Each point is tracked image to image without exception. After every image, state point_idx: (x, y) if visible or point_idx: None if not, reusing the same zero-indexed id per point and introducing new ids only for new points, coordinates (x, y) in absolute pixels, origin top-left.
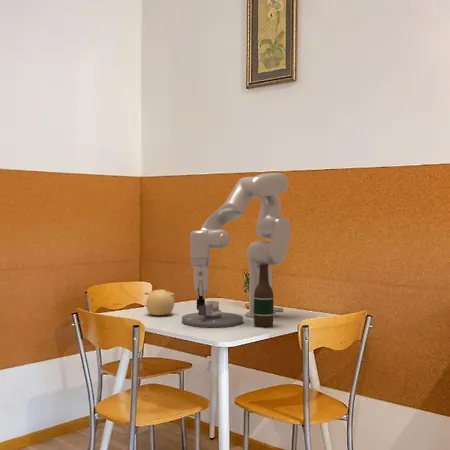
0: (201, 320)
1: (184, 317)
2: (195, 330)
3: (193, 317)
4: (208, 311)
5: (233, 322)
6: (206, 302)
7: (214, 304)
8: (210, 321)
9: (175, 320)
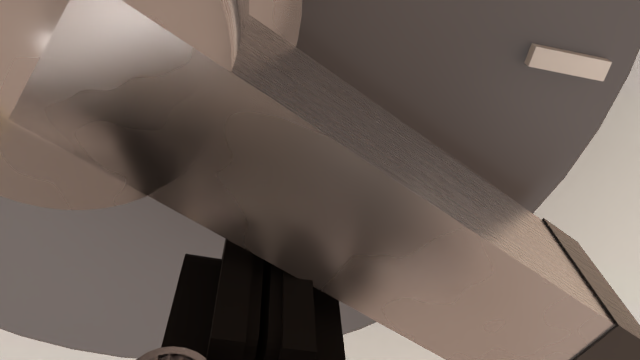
0: None
1: (136, 336)
2: (620, 271)
3: (150, 247)
4: (457, 173)
5: None
6: (93, 205)
7: (234, 28)
8: (525, 106)
9: (2, 349)
